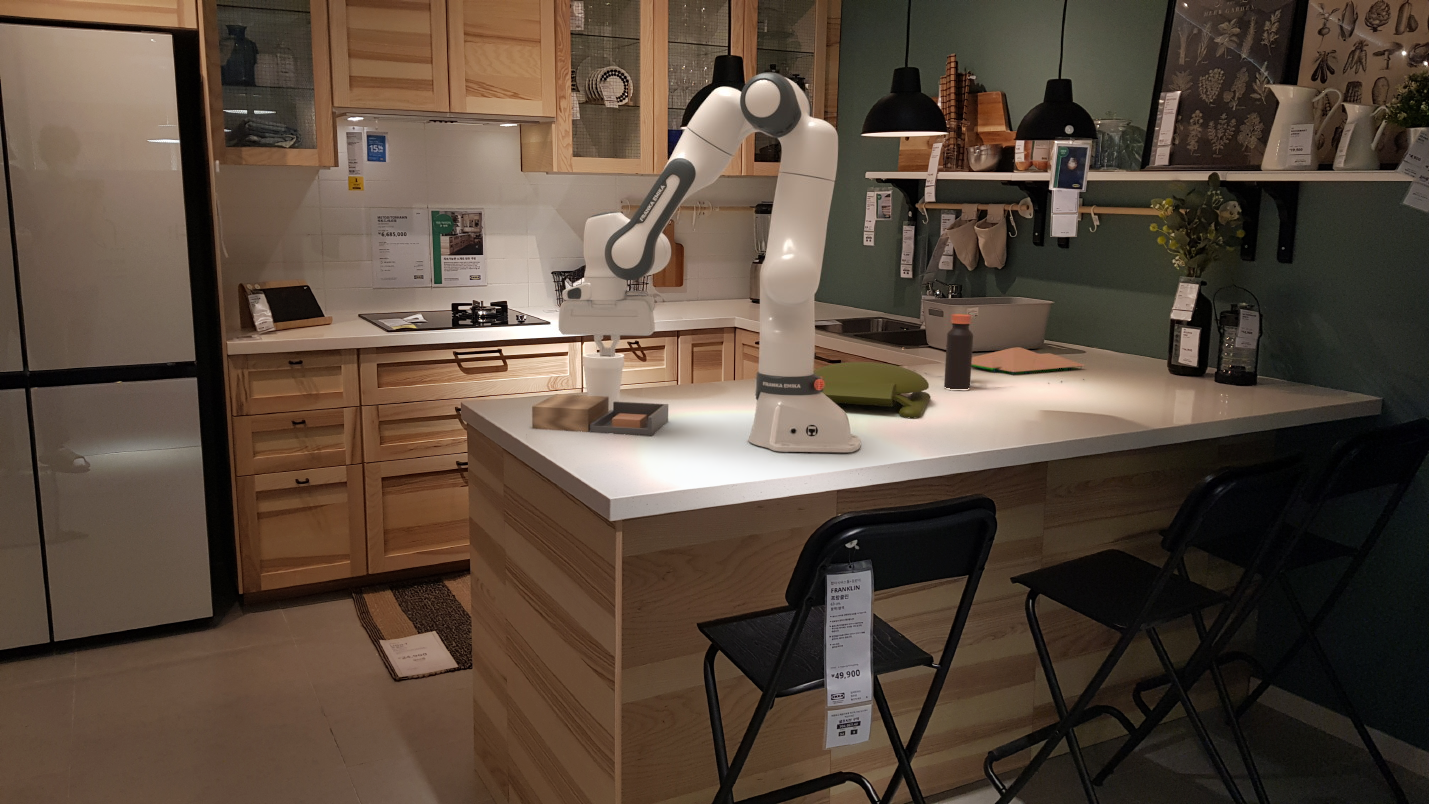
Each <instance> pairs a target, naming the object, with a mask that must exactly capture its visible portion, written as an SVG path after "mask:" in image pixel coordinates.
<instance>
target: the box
mask: <svg viewBox="0 0 1429 804" xmlns="http://www.w3.org/2000/svg"><path fill="white" fill-rule="evenodd" d="M619 413H624V414H643V415H647V424H646V425H645V426H643V427H642V428H629V427H612V418H614V417H615V416H616V415H618V414H619ZM667 423H669V403H652V402H649V403H648V402H635V401H618V402H616V401H614V402H613V410H610V411H609V412H607V413H606V414H604V415H603V416H601V417H600V418H598V419H597V420H595V421H594V422H592V423H591V424H590V431H589V432H590V433H594V434H595V433H597V434H609V433H613V434H612V435H624V434H625V435H628V436H642V437H653V436H654V435H655V434H656V433H657V432H659V430H661V428H662V427H664V426H665V425H666V424H667ZM663 425H664V426H663ZM652 435H653V436H652Z"/></svg>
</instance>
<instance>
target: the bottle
mask: <svg viewBox="0 0 1429 804" xmlns="http://www.w3.org/2000/svg"><path fill="white" fill-rule="evenodd" d="M971 319H972V316H971V314H963V313H955V314H953V313H952V314H951V321H950V322H951V325H952V327H951V329H949V331H948V332H947V333H946V351H945V364H944V366H945V367H944V383H943V384H944V385H943V387H946V388H950V389H968V388H970V389H971V377H972V375H971V374H972V364H971V363H972V357H973V344H974V333H973V332H972V331H971V330H970V328H969V327H970V326H971Z"/></svg>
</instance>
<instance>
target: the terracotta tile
mask: <svg viewBox="0 0 1429 804" xmlns="http://www.w3.org/2000/svg"><path fill="white" fill-rule="evenodd" d="M646 424H647V415H643V414H624V413H619V414H618V415H616V416H615V417H614V418H612V427H629V428H642V427H643V426H645V425H646Z"/></svg>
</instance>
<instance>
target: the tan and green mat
mask: <svg viewBox="0 0 1429 804" xmlns="http://www.w3.org/2000/svg"><path fill="white" fill-rule="evenodd" d="M971 367H974V368H976V369H980V370H990V372H993V373H1000V371H1002V372H1004V373H1006V372H1007V373H1006V374H1008V373H1009V375H1010V374H1011V376H1014V375H1015V376H1016V375H1019V374H1020V375H1021V374H1023V375H1024V373H1025V375H1026V374H1027V373H1030V374H1031V373H1032V374H1033V373H1034V374H1035V372H1036V373H1037V372H1038V371H1039V372H1040V373H1041V372H1042V373H1045V372H1047V371H1049V370H1057V371H1058V370H1061V371H1062V369H1064V370H1066V369H1067V370H1068V369H1069V370H1070V368H1071V369H1074V368H1076V367H1077V368H1078V367H1080V368H1082V367H1086V365H1085V364H1083V363H1079V362H1077V361H1075V360H1071V359H1069V358H1068V359H1067V358H1066V357H1063V356H1059V355H1057V354H1054V353H1052V352H1051V353H1050V352H1048V353H1046V352H1044V353H1037V352H1035V351H1032V350H1029V349H1026V348H1023V347H1019V346H1017V347H1009V348H1005V349H1003V350H1002V349H1001V350H998V351H994V352H989V353H985V354H981V355H976V356H972V363H971ZM1059 368H1060V369H1059ZM1061 368H1062V369H1061ZM1042 370H1043V371H1042ZM1039 372H1038V373H1039Z"/></svg>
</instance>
